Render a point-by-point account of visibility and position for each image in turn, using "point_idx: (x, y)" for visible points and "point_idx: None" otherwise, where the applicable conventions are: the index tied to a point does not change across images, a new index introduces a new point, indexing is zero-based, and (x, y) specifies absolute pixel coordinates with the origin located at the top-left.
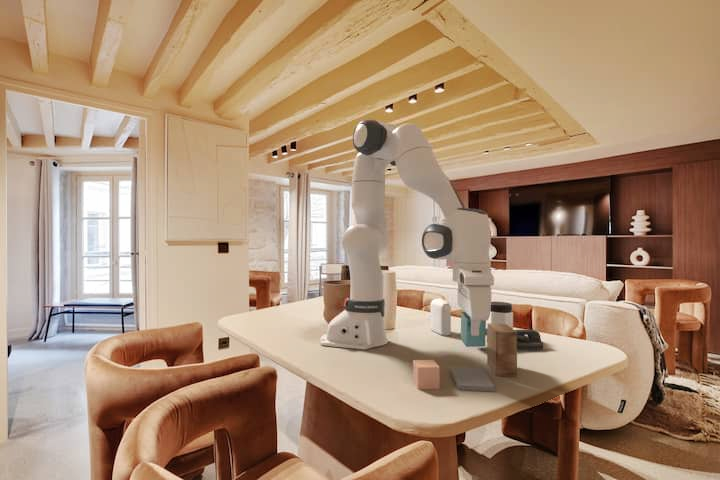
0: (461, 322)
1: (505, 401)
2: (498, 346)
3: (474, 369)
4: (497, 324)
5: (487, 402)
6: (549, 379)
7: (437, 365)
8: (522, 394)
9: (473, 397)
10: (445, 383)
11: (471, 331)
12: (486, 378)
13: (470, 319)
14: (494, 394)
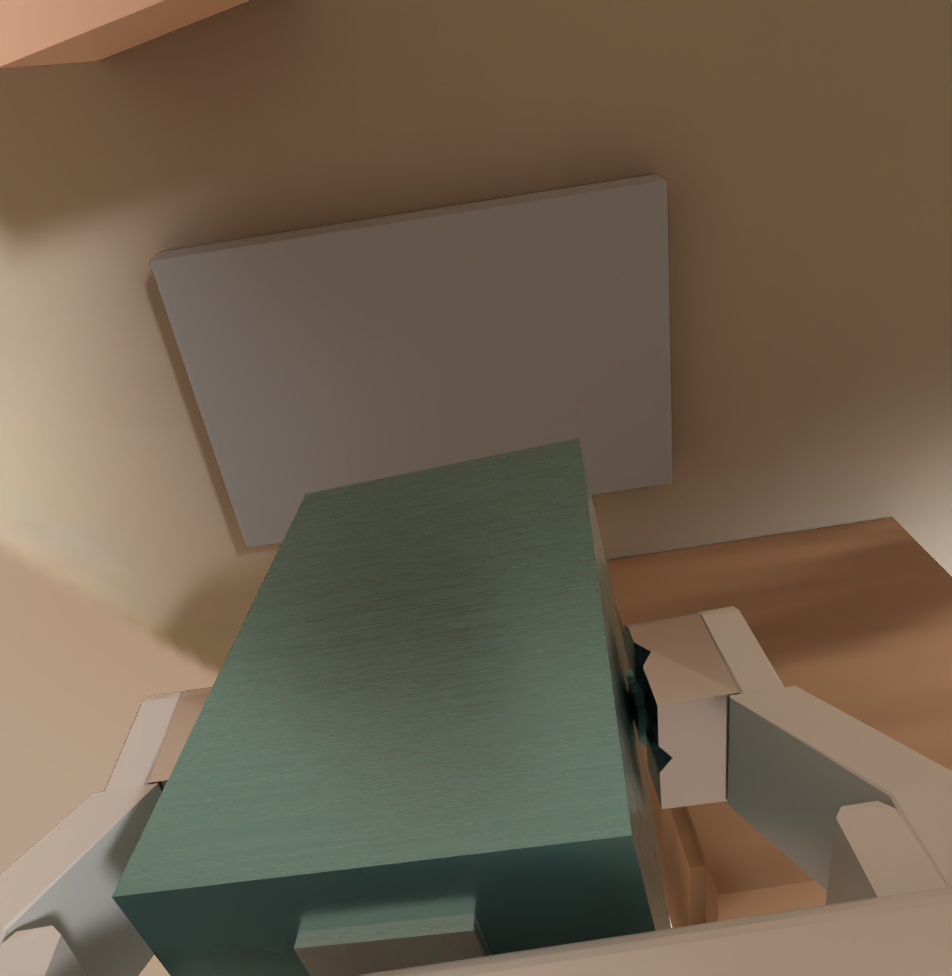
0: (571, 632)
1: (99, 580)
2: None
3: (623, 420)
4: None
5: (11, 471)
6: None
7: (48, 32)
8: None
9: (52, 378)
10: (270, 125)
11: (126, 739)
12: None
13: (28, 949)
14: (194, 525)
